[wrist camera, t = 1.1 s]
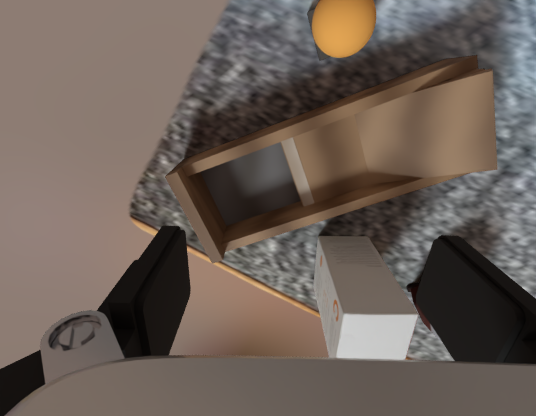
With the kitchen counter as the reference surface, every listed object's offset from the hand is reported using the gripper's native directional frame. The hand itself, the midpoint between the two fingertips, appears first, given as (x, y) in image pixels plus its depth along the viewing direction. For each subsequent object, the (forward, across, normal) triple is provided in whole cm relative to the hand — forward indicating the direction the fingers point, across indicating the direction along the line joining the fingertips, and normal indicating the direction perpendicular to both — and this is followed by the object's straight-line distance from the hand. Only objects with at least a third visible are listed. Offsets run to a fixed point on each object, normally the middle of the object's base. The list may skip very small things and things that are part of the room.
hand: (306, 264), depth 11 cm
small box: (+22, -8, +15) cm, 27 cm away
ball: (+18, -4, -11) cm, 22 cm away
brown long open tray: (+21, -4, +1) cm, 22 cm away
